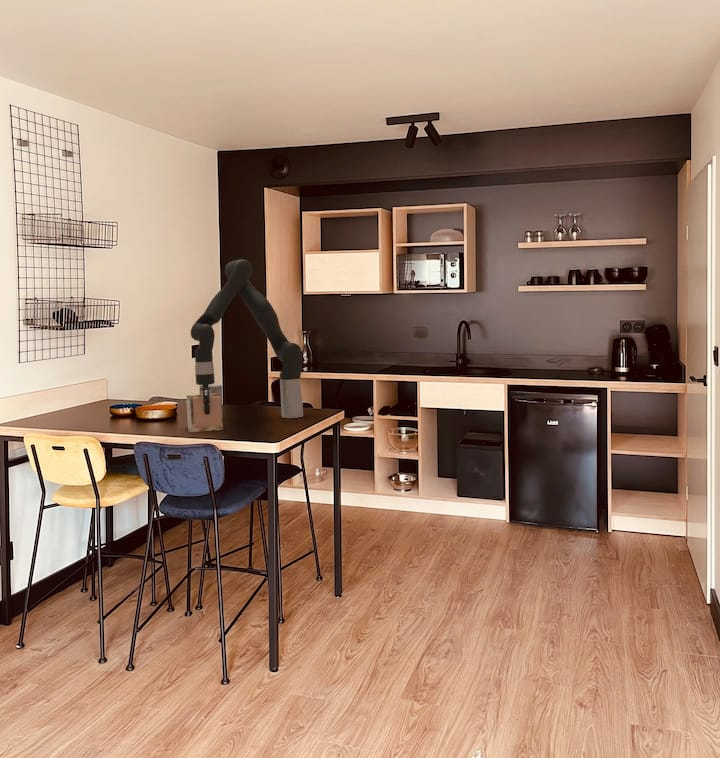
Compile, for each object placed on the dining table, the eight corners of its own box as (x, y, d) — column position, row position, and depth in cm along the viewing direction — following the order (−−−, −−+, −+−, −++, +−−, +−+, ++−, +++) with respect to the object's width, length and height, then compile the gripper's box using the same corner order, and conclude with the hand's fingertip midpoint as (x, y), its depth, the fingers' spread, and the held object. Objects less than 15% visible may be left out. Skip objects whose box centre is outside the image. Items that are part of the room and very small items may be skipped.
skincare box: (199, 421, 329) (197, 385, 327) (207, 418, 335) (205, 383, 333) (216, 421, 326) (214, 385, 324) (224, 418, 333) (222, 383, 331)
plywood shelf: (222, 424, 319) (220, 393, 317) (223, 429, 306) (221, 397, 305) (188, 426, 316) (186, 395, 314) (188, 432, 303) (186, 399, 302)
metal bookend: (192, 423, 315) (190, 397, 313) (191, 428, 304) (190, 401, 302) (188, 423, 314) (186, 398, 313) (188, 428, 303) (186, 402, 302)
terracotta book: (221, 424, 312) (220, 395, 310) (221, 425, 307) (220, 397, 306) (194, 425, 309) (193, 397, 308) (194, 427, 305) (193, 398, 303)
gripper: (214, 373, 299) (216, 415, 301) (213, 370, 313) (216, 409, 315) (195, 375, 298) (197, 416, 300) (195, 371, 312) (197, 411, 314)
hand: (207, 413), depth 308 cm, fingers open, 5 cm apart
